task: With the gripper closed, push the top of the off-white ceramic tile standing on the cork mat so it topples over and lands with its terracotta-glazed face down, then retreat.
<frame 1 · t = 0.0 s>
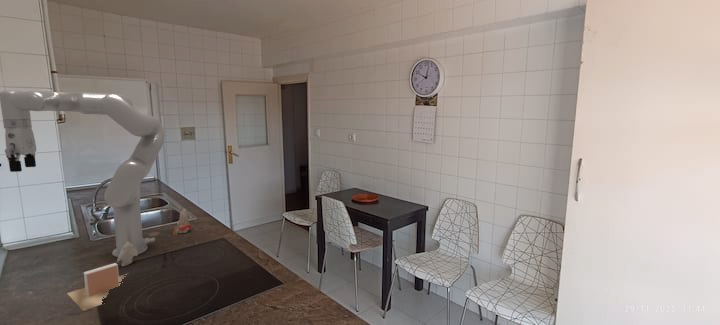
hand: (23, 169, 133), 37 cm above the countertop, tool pointing down, fingers open, 9 cm apart
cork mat: (108, 291, 118), on the countertop
figurine: (181, 232, 173), on the countertop
arrowhead: (128, 266, 137), on the countertop
tile: (103, 290, 118), point 1 cm above the countertop, touching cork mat
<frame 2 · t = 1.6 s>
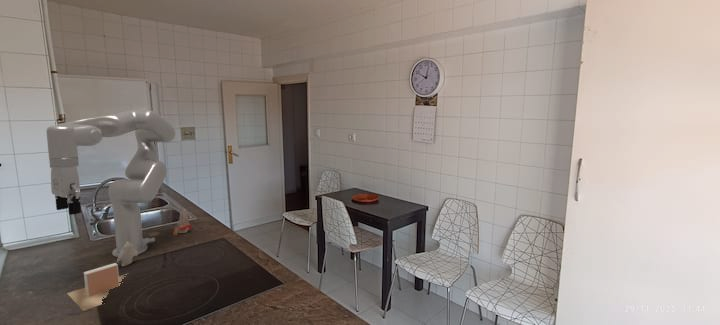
hand: (68, 211, 121), 26 cm above the countertop, tool pointing down, fingers open, 9 cm apart
nothing on the countertop moved.
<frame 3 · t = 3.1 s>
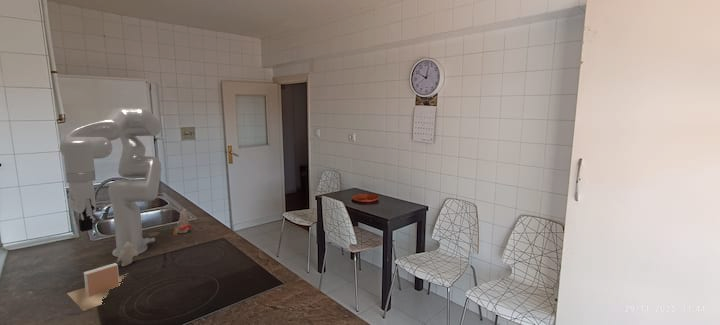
hand: (86, 230, 118), 21 cm above the countertop, tool pointing down, fingers closed
nothing on the countertop moved.
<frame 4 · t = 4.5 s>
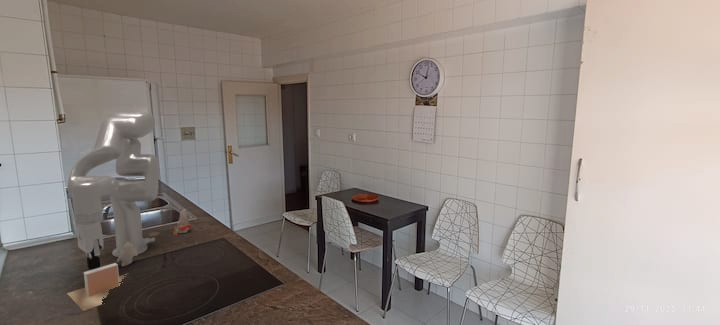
hand: (94, 267, 121), 7 cm above the countertop, tool pointing down, fingers closed
nothing on the countertop moved.
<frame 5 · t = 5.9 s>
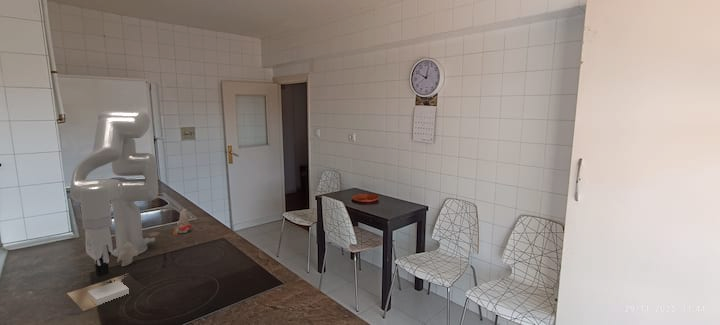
hand: (102, 274, 116), 7 cm above the countertop, tool pointing down, fingers closed
tile: (104, 288, 117), point 2 cm above the countertop, tilted 90°, touching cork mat
everything else where it was.
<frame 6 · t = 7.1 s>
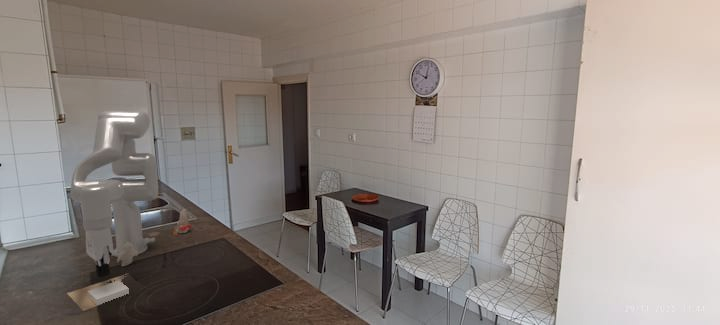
hand: (103, 275, 116), 7 cm above the countertop, tool pointing down, fingers closed
nothing on the countertop moved.
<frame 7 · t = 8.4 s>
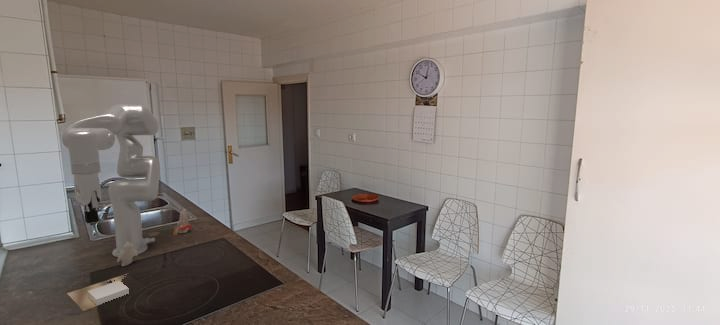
hand: (92, 221, 117), 24 cm above the countertop, tool pointing down, fingers closed
nothing on the countertop moved.
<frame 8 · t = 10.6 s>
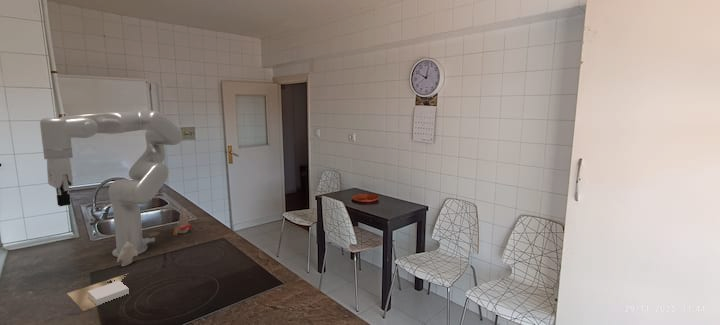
hand: (64, 205, 123), 27 cm above the countertop, tool pointing down, fingers closed
nothing on the countertop moved.
at the end: tile tilted 90°; tile inside the target area (2.9 cm from its centre), point 1.7 cm above the countertop; the gripper is holding nothing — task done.
